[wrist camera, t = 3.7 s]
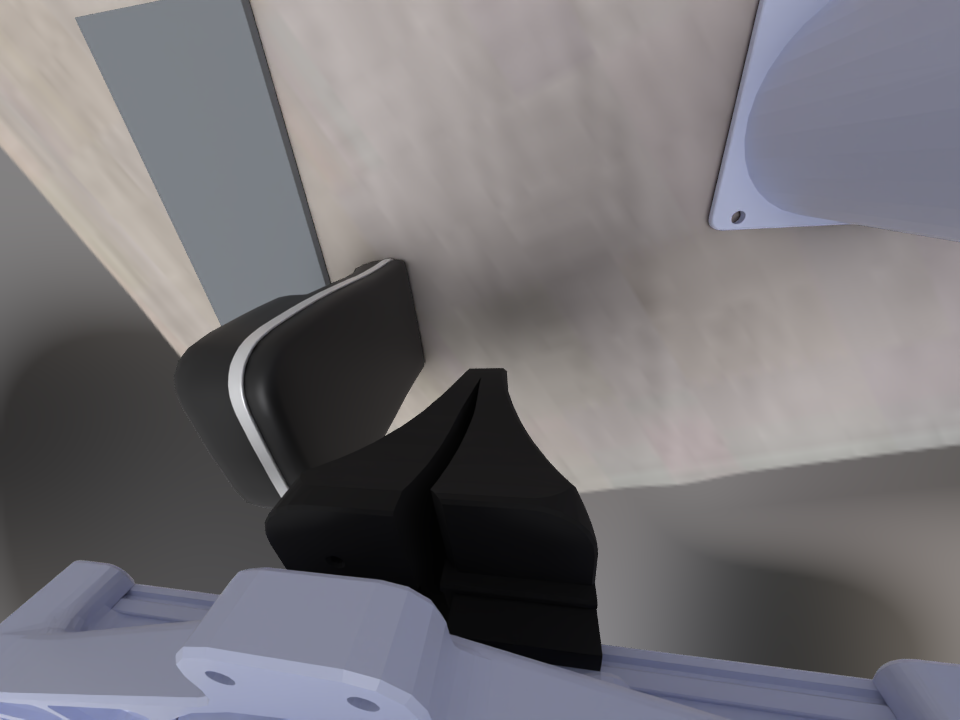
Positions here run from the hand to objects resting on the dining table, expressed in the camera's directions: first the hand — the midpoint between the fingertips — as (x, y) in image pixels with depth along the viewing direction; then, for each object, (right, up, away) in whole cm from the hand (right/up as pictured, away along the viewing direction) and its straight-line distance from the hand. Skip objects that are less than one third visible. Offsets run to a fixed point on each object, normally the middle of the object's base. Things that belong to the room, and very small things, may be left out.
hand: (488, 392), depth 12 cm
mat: (-13, +7, +7) cm, 16 cm away
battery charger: (-6, +4, +8) cm, 10 cm away
